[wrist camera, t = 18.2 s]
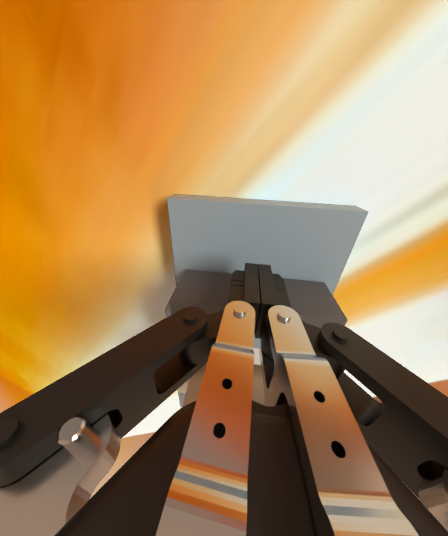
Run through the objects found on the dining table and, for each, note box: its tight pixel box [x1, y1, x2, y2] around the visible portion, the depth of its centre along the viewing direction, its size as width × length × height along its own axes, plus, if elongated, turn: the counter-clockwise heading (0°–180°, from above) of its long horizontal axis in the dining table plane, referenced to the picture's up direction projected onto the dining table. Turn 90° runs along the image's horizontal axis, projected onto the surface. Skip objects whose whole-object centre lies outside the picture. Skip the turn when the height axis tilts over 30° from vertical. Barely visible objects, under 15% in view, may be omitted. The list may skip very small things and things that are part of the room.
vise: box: [167, 194, 368, 407], centre depth 17 cm, size 22×12×4 cm, turn 177°
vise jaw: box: [165, 269, 347, 365], centre depth 14 cm, size 7×12×4 cm, turn 88°
